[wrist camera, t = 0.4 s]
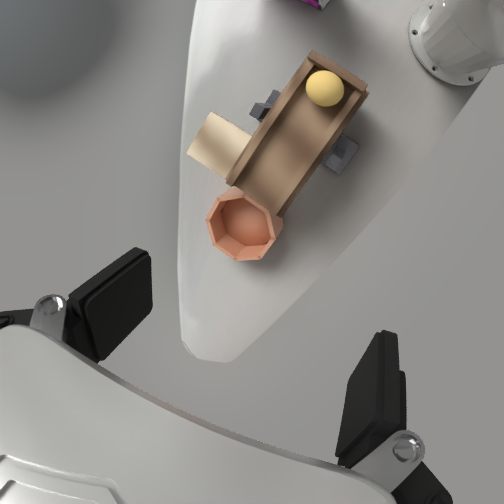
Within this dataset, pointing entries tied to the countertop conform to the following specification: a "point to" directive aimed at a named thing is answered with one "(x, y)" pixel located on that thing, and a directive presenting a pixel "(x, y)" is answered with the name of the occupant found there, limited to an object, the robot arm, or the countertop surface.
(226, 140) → the wooden tray
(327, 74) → the ball
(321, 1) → the candy bar box
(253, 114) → the stand
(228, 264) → the countertop surface
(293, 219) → the countertop surface
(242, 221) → the salmon orange faceted bowl
